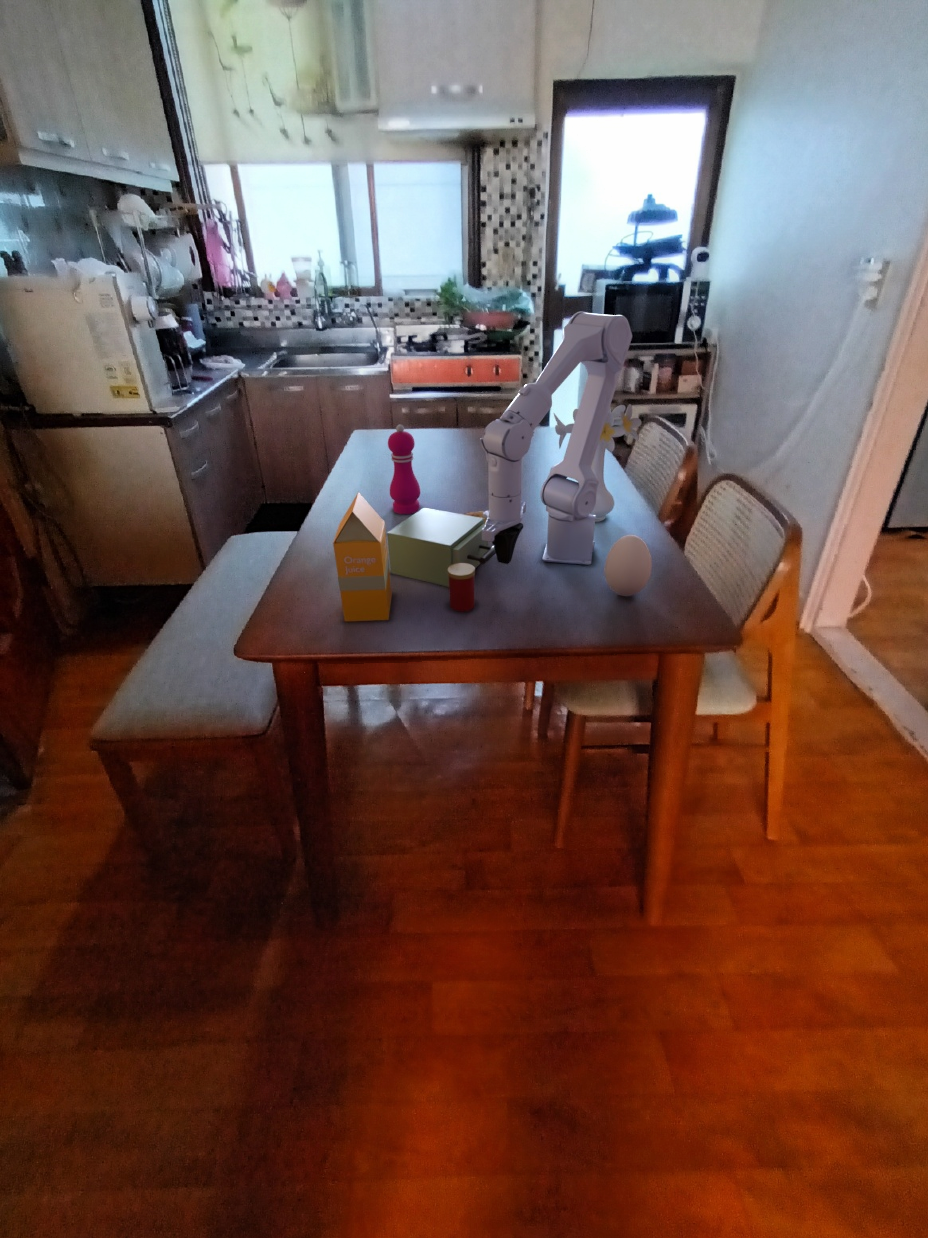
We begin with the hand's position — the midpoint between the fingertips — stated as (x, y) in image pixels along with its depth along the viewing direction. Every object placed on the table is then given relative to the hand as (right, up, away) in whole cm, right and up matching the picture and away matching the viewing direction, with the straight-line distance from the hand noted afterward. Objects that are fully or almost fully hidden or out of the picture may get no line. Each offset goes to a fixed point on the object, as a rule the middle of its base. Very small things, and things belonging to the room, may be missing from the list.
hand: (504, 561), depth 115 cm
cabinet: (-13, 0, +8) cm, 15 cm away
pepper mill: (-21, +15, +33) cm, 42 cm away
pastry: (-5, +9, +23) cm, 25 cm away
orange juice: (-24, -9, -5) cm, 26 cm away
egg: (+21, -6, -3) cm, 23 cm away
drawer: (-9, 0, +6) cm, 11 cm away
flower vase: (+21, +12, +26) cm, 36 cm away
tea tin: (-8, -8, -5) cm, 13 cm away
